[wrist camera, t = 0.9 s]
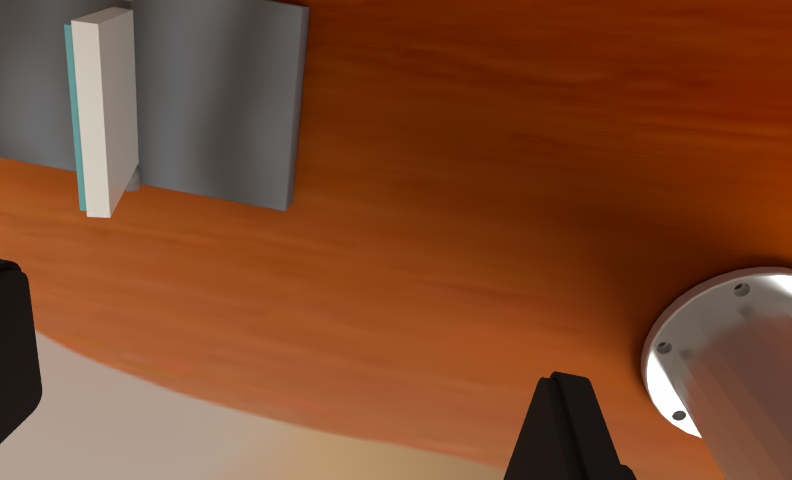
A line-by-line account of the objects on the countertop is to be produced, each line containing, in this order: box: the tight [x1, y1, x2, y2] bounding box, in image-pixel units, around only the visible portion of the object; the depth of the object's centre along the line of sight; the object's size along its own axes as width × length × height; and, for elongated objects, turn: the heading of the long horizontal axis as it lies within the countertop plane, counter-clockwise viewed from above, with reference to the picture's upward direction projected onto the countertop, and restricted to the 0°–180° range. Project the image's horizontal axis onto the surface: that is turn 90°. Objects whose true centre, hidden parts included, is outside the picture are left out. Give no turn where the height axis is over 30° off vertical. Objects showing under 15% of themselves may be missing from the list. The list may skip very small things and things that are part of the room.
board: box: [0, 0, 310, 211], centre depth 29 cm, size 18×11×3 cm, turn 80°
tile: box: [64, 7, 139, 218], centre depth 25 cm, size 8×8×1 cm
